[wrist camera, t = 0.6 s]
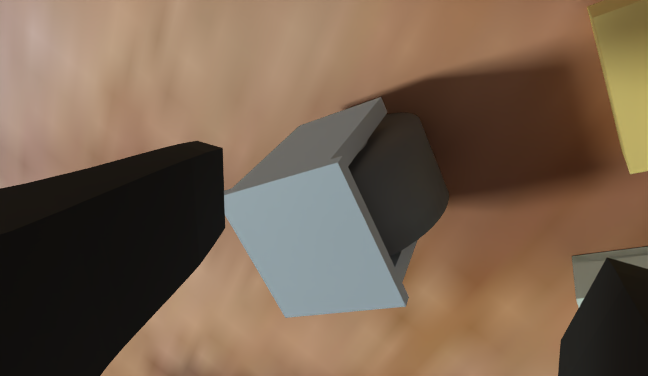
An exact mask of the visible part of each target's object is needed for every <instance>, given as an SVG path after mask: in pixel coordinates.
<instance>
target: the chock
mask: <svg viewBox="0 0 648 376" xmlns="http://www.w3.org/2000/svg"><path fill="white" fill-rule="evenodd" d="M587 9H588V13H589V17H590V21H591V25H592V29H593V34H594V38H595V42H596V46H597V50H598V54H599V58H600V63H601V67H602V71H603V75H604V79H605V83H606V88H607V92H608V96H609V100H610V104H611V108H612V113H613V117H614V121H615V125H616V129H617V133H618V137H619V142H620V146H621V150H622V153H623V156H624V158H625V161H626V164H627V167H628V170H629V173H630V174H634V173H639V172H644V171H648V0H604V1H601V2H599V3H596V4H593V5H590V6H588V7H587Z"/></svg>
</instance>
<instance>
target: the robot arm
mask: <svg viewBox="0 0 648 376" xmlns="http://www.w3.org/2000/svg"><path fill="white" fill-rule="evenodd" d="M224 229H225V208H224V177H223V148H220V147H217V146H213V145H210V144H206V143H203V142H199V141H193V142H187V143H182V144H177V145H173V146H169V147H165V148H161V149H157V150H153V151H150V152H146V153H142V154H139V155H135V156H131V157H128V158H124V159H121V160H117V161H113V162H110V163H106V164H102V165H99V166H95V167H91V168H88V169H83V170H79V171H75V172H71V173H67V174H63V175H59V176H55V177H51V178H47V179H42V180H38V181H34V182H30V183H26V184H21V185H16V186H12V187H7V188H1V189H0V376H100V375H101V374H102V373H103V371H104V370H105V369H106V367H107V366H108V365H109V363H110V362H111V361H112V360H113V359H114V358H115V357H116V355H117V354H118V353H119V352H120V351H121V350H122V348H123V347H124V346H125V345H126V344H127V343H128V342H129V341H130V340H131V339H132V337H133V336H134V335H135V334H136V333H137V332H138V331H139V330H140V329H141V328H142V327H143V326H144V325H145V324H146V322H147V321H148V320H149V319H150V318H151V317H152V316H153V315H154V314H155V313H156V312H157V311H158V310H159V309H160V307H161V306H162V305H163V304H164V303H165V302H166V301H167V300H168V299H169V298H170V297H171V296H172V295H173V294H174V293H175V291H176V290H177V289H178V288H179V287H180V286H181V285H182V284H183V283H184V282H185V281H186V279H187V278H188V277H189V276H190V275H191V274H192V273H193V272H194V271H195V269H196V268H197V267H198V266H199V265H200V264H201V262H202V261H203V259H204V258H205V257H206V255H207V254H208V253H209V251H210V250H211V248H212V247H213V245H214V244H215V242H216V241H217V239H218V238H219V236H220V235H221V233H222V232H223V230H224ZM558 376H648V269H646V268H643V267H639V266H636V265H632V264H629V263H625V262H622V261H618V260H615V259H611V258H608V257H607V258H606V260H605V262H604V263H603V265H602V267H601V269H600V271H599V272H598V274H597V276H596V278H595V280H594V281H593V283H592V285H591V287H590V289H589V291H588V292H587V294H586V296H585V298H584V300H583V301H582V303H581V305H580V307H579V309H578V310H577V312H576V314H575V316H574V318H573V319H572V321H571V323H570V325H569V327H568V328H567V330H566V332H565V334H564V336H563V337H562V339H561V345H560V358H559V372H558Z"/></svg>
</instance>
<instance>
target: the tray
mask: <svg viewBox="0 0 648 376" xmlns="http://www.w3.org/2000/svg"><path fill="white" fill-rule="evenodd" d="M607 257H608V258H611V259H615V260H618V261H622V262H625V263H629V264H632V265H636V266H639V267H643V268H646V269H648V247H640V248H633V249H625V250H617V251H609V252H601V253H593V254H586V255H578V256H572V262H573V272H574V282H575V293H576V300H577V303H578V306H579V307H580V305H581V303H582V301H583V300H584V298H585V296H586V294H587V292H588V291H589V289H590V287H591V285H592V283H593V281H594V280H595V278H596V276H597V274H598V272H599V271H600V269H601V267H602V265H603V263H604V262H605V260H606V258H607Z"/></svg>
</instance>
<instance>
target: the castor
mask: <svg viewBox="0 0 648 376" xmlns="http://www.w3.org/2000/svg"><path fill="white" fill-rule="evenodd" d="M448 200H449V192H448V190H447V187H446V185H445V182H444V179H443V177H442V174H441V172H440V169H439V167H438V164H437V162H436V159H435V157H434V154H433V152H432V149H431V146H430V144H429V141H428V139H427V136H426V134H425V131H424V129H423V126H422V124H421V121H420V119H419V117H418V116H417V115H414V114H411V113H392V114H387V110H386V107H385V105H384V103H383V100H382V98H381V97H379V98H377V99H374V100H371V101H368V102H365V103H362V104H360V105H357V106H354V107H351V108H348V109H345V110H343V111H340V112H337V113H334V114H331V115H328V116H326V117H323V118H320V119H317V120H314V121H311V122H309V123H306V124H303V125H300V126H299V127H297V128H296V129H295V130H294V131H293V132H292V133H291V134H290V135H289V136H288V137H287V138H286V139H285V140H283V141H282V142H281V143H280V144H279V145H278V146H277V147H276V148H275V149H274V150H273V151H272V152H271V153H269V154H268V155H267V156H266V157H265V158H264V159H263V160H262V161H261V162H260V163H259V164H258V165H257V166H255V167H254V168H253V169H252V170H251V171H250V172H249V173H248V174H247V175H246V176H245V177H244V178H242V179H241V180H240V181H239V182H238V183H237V184H236V185H235V186H234V187H233V188H232V189H229V190H225V191H224V208H225V216H226V217H227V219H228V221H229V222H230V224H231V226H232V227H233V229H234V231H235V233H236V234H237V236H238V238H239V239H240V241H241V243H242V244H243V246H244V248H245V250H246V251H247V253H248V255H249V256H250V258H251V260H252V261H253V263H254V265H255V267H256V268H257V270H258V272H259V273H260V275H261V277H262V278H263V280H264V282H265V284H266V285H267V287H268V289H269V290H270V292H271V294H272V295H273V297H274V299H275V301H276V302H277V304H278V306H279V307H280V309H281V311H282V312H283V314H284V316H285V318H287V317H298V316H309V315H319V314H330V313H341V312H351V311H362V310H373V309H384V308H394V307H405V306H406V304H407V301H408V298H409V297H408V294H407V292H406V290H405V288H404V286H403V284H402V282H403V279H404V276H405V273H406V271H407V268H408V265H409V262H410V259H411V257H412V254H413V251H414V248H415V245H416V243H417V240H418V239H419V238H420V237H422V236H423V235H424V234H425V233H426V232H428V231H429V230H430V229H431V228H432V227H433V226H434V225H435V223H436V222H437V221H438V220H439V219H440V217H441V216H442V214H443V213H444V211H445V209H446V207H447V204H448Z"/></svg>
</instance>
